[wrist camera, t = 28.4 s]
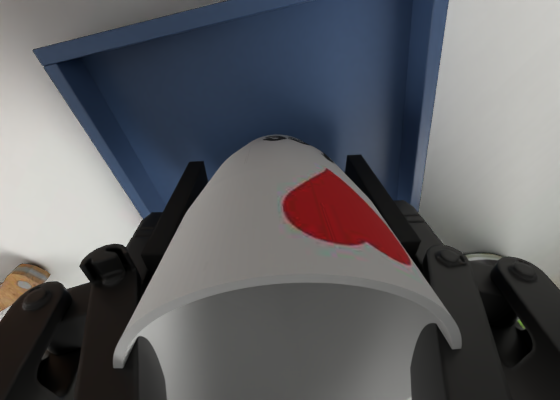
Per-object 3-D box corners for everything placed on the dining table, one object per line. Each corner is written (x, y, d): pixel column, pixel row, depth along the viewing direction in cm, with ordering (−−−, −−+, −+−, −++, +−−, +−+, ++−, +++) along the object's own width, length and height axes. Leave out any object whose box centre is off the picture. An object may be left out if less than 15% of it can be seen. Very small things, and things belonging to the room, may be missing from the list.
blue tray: (398, 233, 20) (412, 256, 18) (198, 268, 21) (192, 294, 19) (423, -45, 11) (458, -58, 9) (68, 44, 12) (31, 49, 10)
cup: (372, 187, 15) (494, 383, 7) (264, 249, 18) (264, 445, 10) (294, 65, 11) (368, 187, 3) (170, 166, 14) (35, 379, 6)
